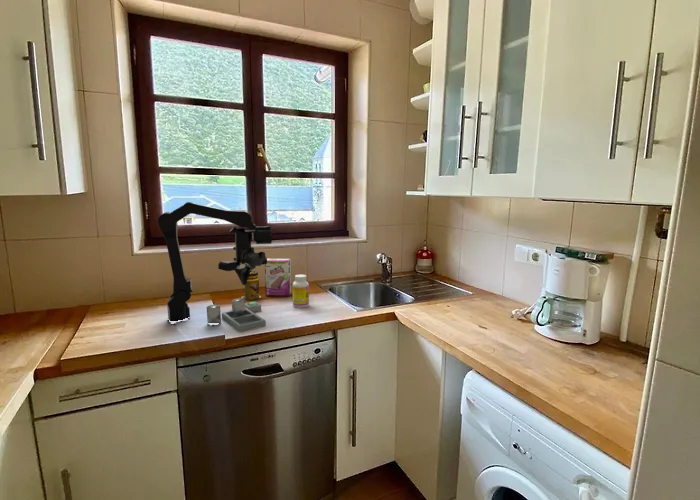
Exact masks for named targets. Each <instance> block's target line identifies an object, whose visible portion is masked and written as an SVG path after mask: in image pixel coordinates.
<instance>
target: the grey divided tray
mask: <svg viewBox="0 0 700 500" xmlns="http://www.w3.org/2000/svg"><path fill="white" fill-rule="evenodd" d="M221 319H222V320H224V321H225V322H226V323H228V325H230V326H231V327H232V328H233V329H235V330H236V331H237V332H239V333H241V332H242V333H243V332H245V331H250V330H254V329H258V328H262V327H266V326H267V325H266V324H267V323H266V319H264V318H263V317H261V316H259V315H258V314H257V313H256V312H252V311H250V310H249V309H247V308H245V316H240V317H235V318H232V310H228V311H222V312H221Z"/></svg>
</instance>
